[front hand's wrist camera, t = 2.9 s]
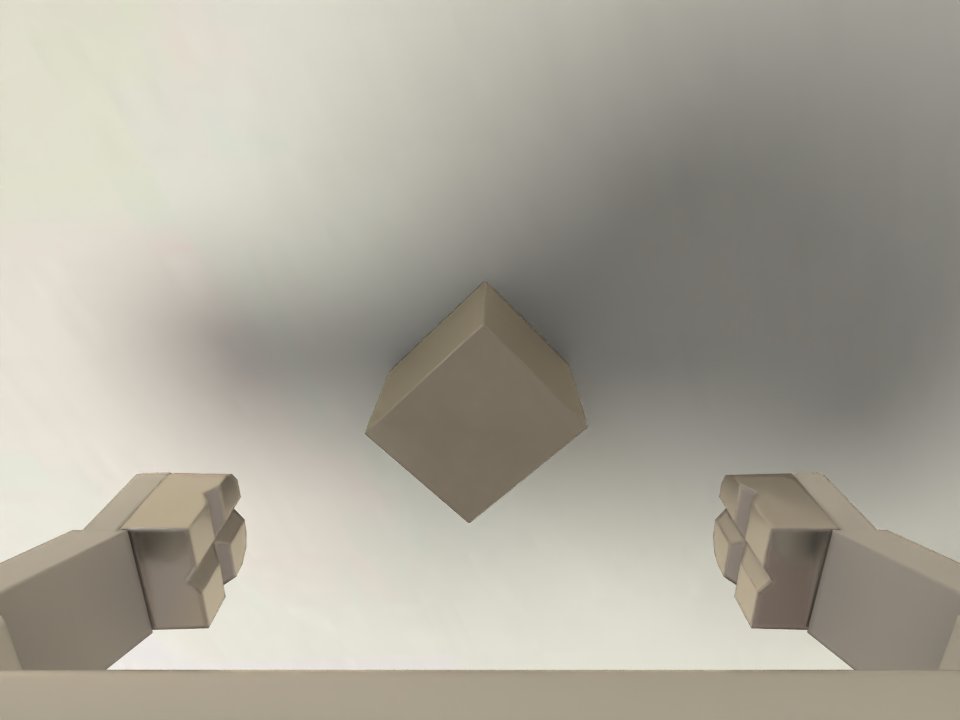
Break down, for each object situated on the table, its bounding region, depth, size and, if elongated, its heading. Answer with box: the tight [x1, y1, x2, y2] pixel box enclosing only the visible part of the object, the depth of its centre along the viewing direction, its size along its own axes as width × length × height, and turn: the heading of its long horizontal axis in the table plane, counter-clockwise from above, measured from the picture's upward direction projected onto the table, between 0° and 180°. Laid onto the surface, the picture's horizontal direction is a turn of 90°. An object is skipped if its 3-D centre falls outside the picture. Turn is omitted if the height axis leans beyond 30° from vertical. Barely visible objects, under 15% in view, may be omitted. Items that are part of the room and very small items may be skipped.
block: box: [365, 282, 588, 523], centre depth 19 cm, size 4×4×4 cm
